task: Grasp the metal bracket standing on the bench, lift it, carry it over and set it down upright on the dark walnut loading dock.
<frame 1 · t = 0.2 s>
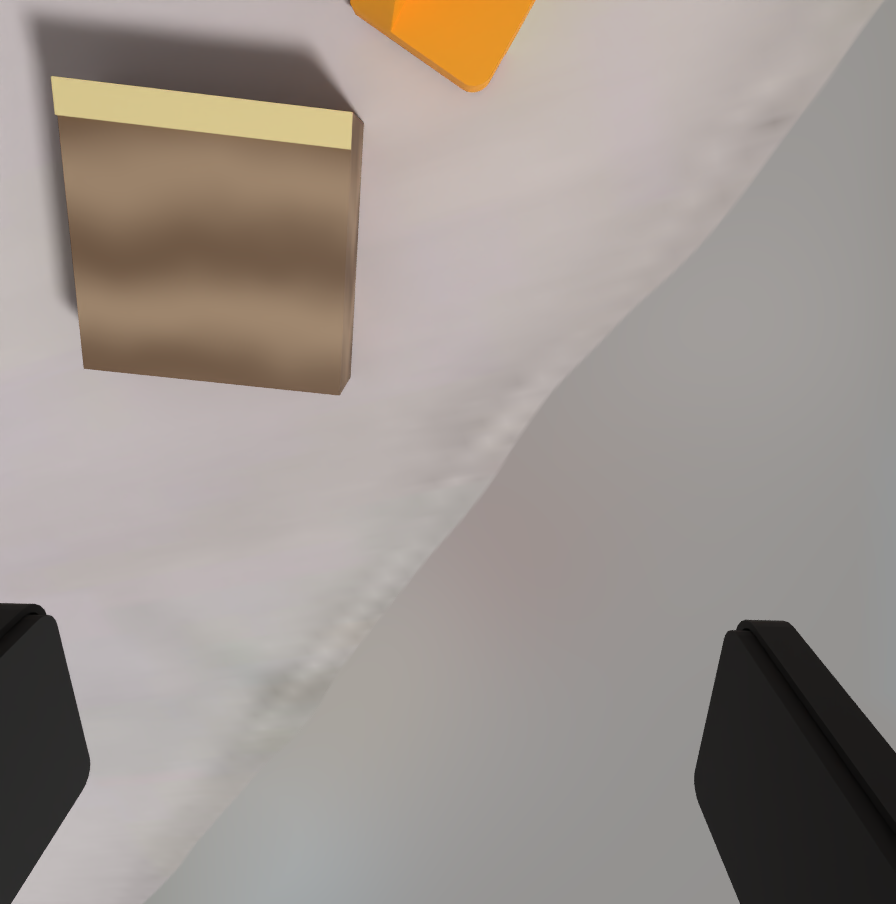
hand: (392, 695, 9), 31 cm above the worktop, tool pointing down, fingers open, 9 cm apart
dock: (233, 245, 36), on the worktop
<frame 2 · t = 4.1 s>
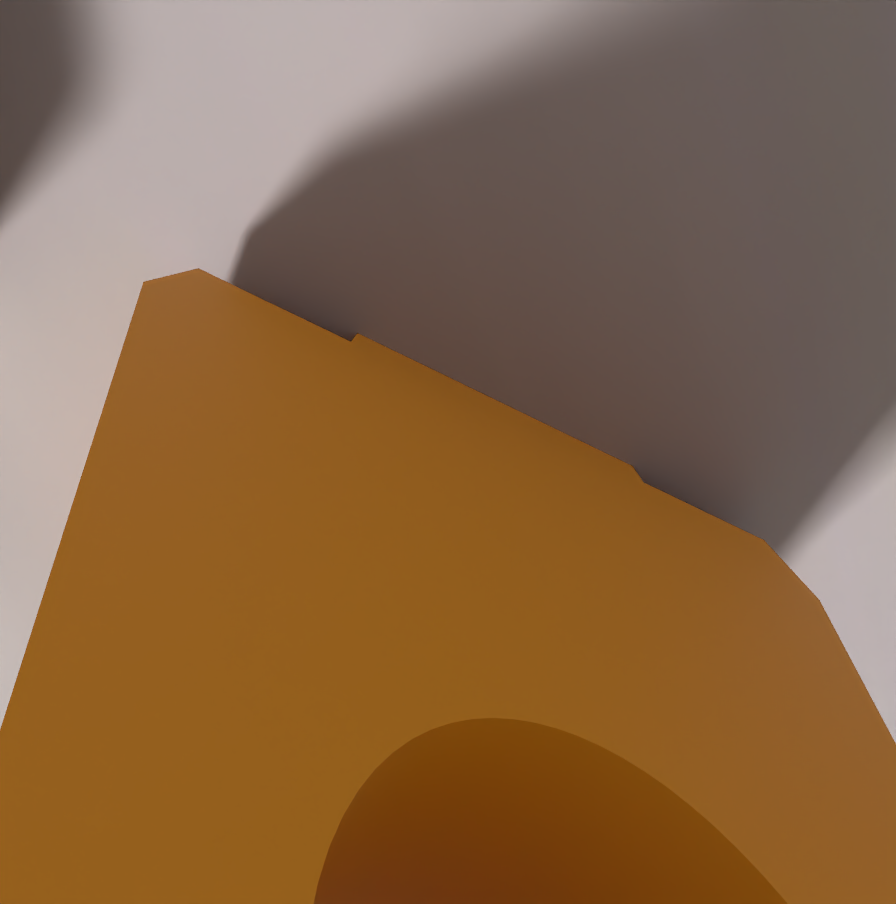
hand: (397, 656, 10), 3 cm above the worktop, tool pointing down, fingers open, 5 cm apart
bracket: (415, 551, 13), on the worktop, touching gripper
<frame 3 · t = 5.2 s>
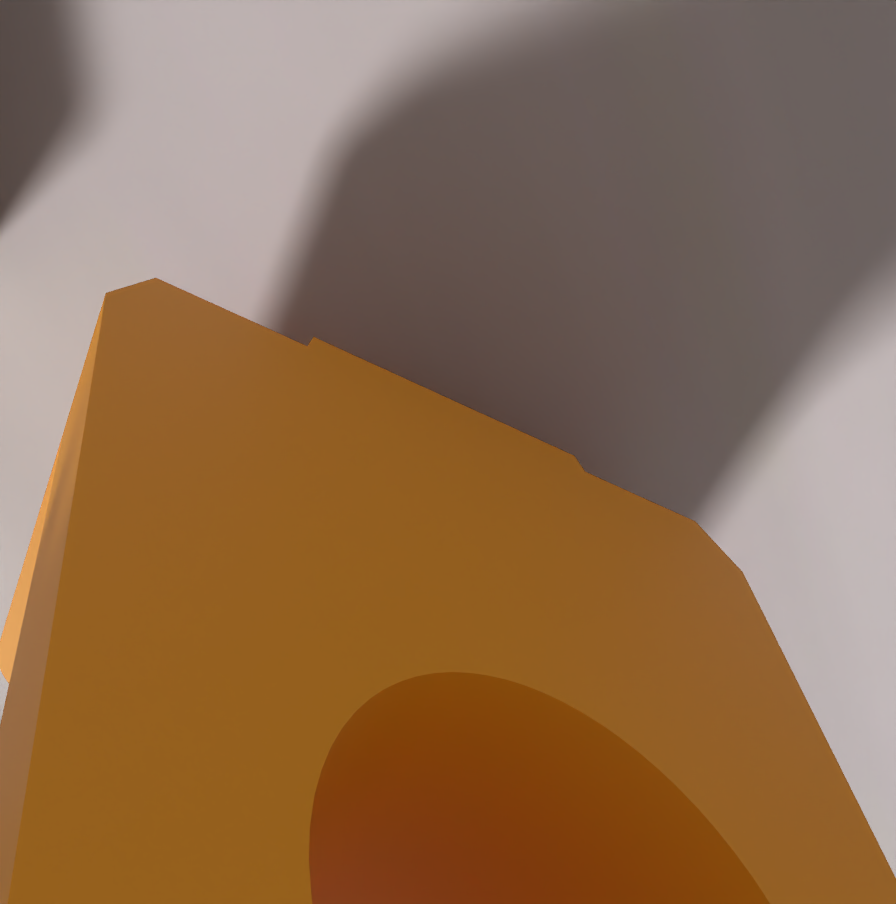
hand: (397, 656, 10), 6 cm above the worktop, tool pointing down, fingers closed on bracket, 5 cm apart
bracket: (374, 545, 13), point 2 cm above the worktop, touching gripper
when the fingers open (9 cm above the worktop, at t = 10.8 s): bracket drops 1 cm, resting on dock.
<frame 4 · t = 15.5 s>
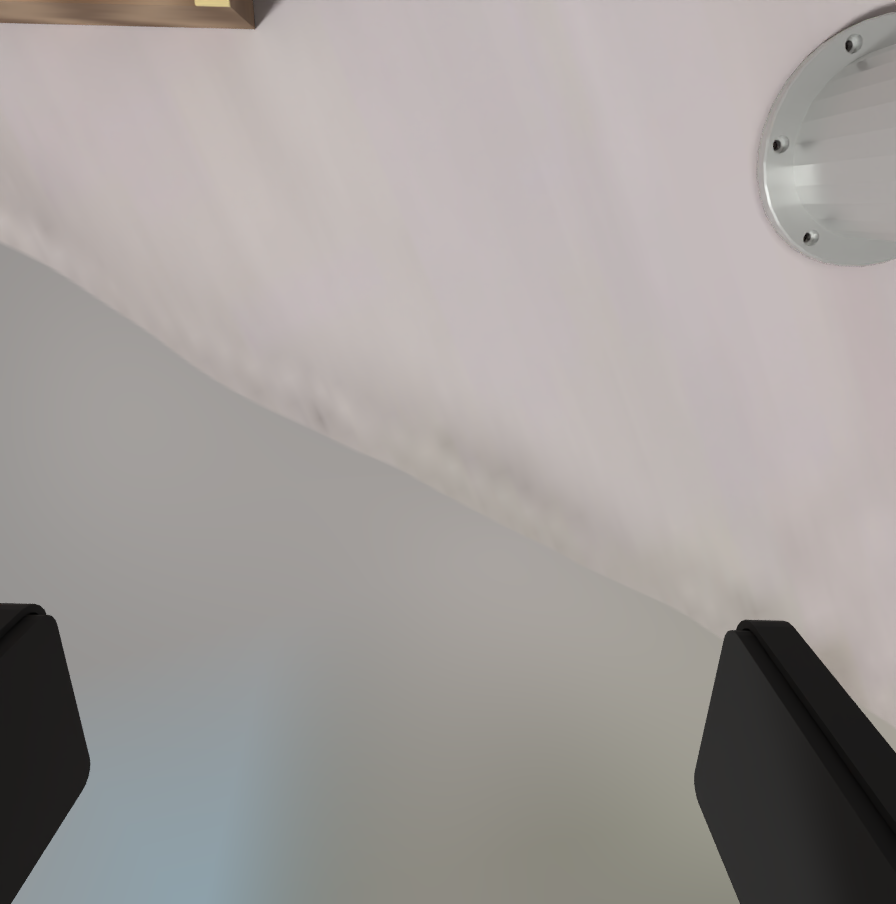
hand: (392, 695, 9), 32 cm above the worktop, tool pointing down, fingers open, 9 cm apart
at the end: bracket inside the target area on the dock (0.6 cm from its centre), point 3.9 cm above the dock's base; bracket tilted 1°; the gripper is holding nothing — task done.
